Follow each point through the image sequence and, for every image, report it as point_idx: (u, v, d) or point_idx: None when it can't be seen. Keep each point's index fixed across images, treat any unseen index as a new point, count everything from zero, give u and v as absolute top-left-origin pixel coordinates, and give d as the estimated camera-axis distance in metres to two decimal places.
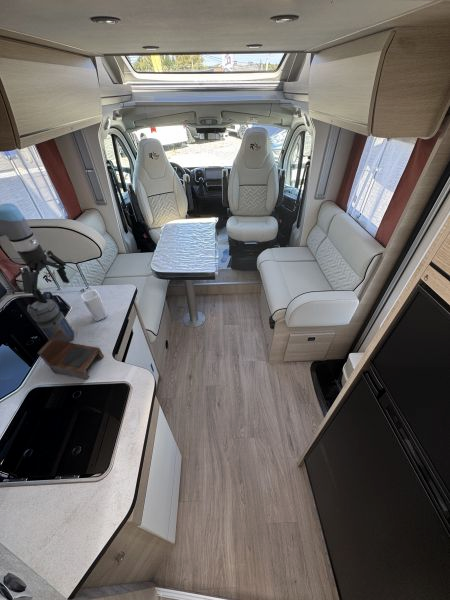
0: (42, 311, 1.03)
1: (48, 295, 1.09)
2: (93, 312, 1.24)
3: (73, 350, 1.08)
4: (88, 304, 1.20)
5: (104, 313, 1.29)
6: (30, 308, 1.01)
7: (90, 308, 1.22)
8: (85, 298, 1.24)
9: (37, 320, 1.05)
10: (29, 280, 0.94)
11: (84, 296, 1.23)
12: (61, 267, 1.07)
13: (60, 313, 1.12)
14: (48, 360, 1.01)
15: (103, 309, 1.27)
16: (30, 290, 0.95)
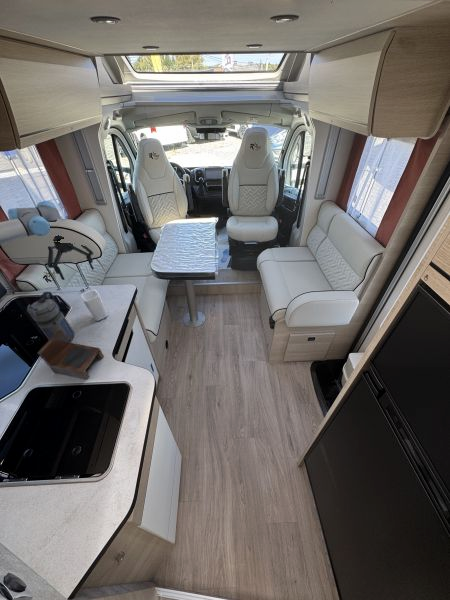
0: (42, 311, 1.03)
1: (48, 295, 1.09)
2: (93, 312, 1.24)
3: (73, 350, 1.08)
4: (88, 304, 1.20)
5: (104, 313, 1.29)
6: (30, 308, 1.01)
7: (90, 308, 1.22)
8: (85, 298, 1.24)
9: (37, 320, 1.05)
10: None
11: (84, 296, 1.23)
12: None
13: (60, 313, 1.12)
14: (48, 360, 1.01)
15: (103, 309, 1.27)
16: None
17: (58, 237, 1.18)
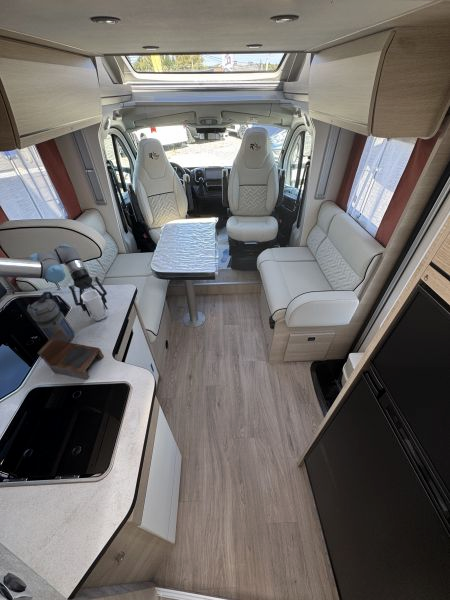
0: (42, 311, 1.03)
1: (48, 295, 1.09)
2: (93, 312, 1.24)
3: (73, 350, 1.08)
4: (88, 304, 1.20)
5: (104, 313, 1.29)
6: (30, 308, 1.01)
7: (90, 308, 1.22)
8: (85, 298, 1.24)
9: (37, 320, 1.05)
10: None
11: (84, 296, 1.23)
12: None
13: (60, 313, 1.12)
14: (48, 360, 1.01)
15: (103, 309, 1.27)
16: None
17: (78, 275, 1.21)
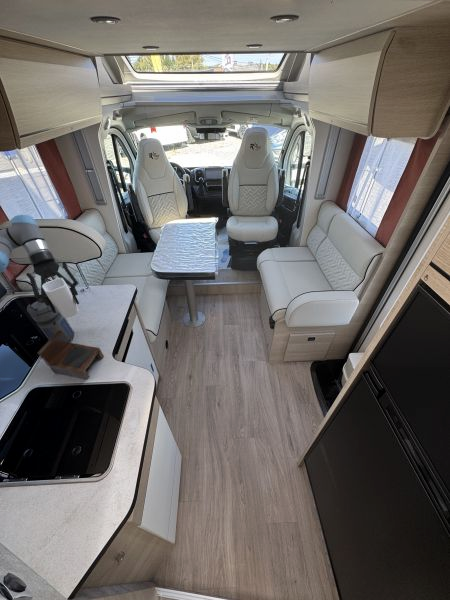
0: (42, 311, 1.03)
1: None
2: (59, 307, 0.96)
3: (73, 350, 1.08)
4: (51, 296, 0.92)
5: (75, 309, 1.01)
6: (30, 308, 1.01)
7: (54, 302, 0.94)
8: (49, 289, 0.97)
9: (37, 320, 1.05)
10: None
11: (47, 286, 0.96)
12: None
13: None
14: (48, 360, 1.01)
15: (73, 303, 0.99)
16: None
17: (39, 259, 0.94)
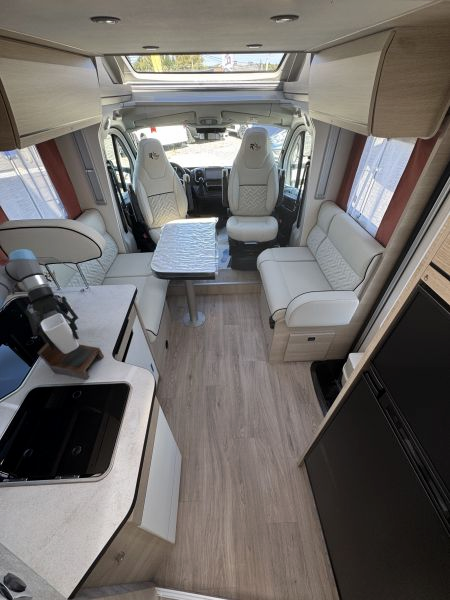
0: None
1: None
2: (58, 344, 0.94)
3: (73, 350, 1.08)
4: (50, 335, 0.90)
5: (74, 344, 0.98)
6: None
7: (53, 339, 0.92)
8: (48, 325, 0.94)
9: (37, 320, 1.05)
10: None
11: (46, 323, 0.93)
12: None
13: None
14: (48, 360, 1.01)
15: (72, 339, 0.97)
16: None
17: (37, 296, 0.91)
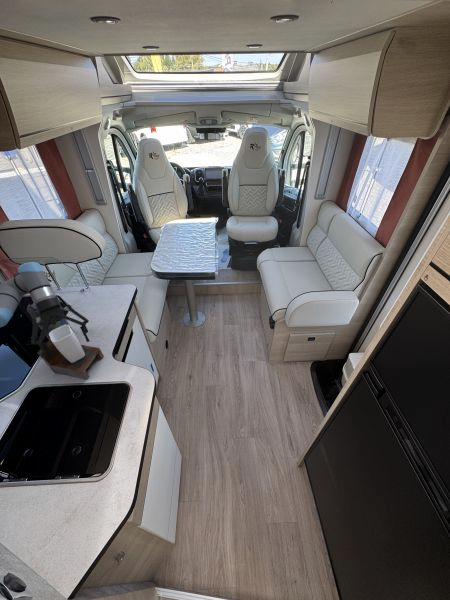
0: None
1: None
2: (65, 354, 0.98)
3: None
4: (58, 345, 0.94)
5: (81, 354, 1.02)
6: (30, 308, 1.01)
7: (61, 349, 0.95)
8: (55, 336, 0.98)
9: None
10: None
11: (54, 333, 0.97)
12: None
13: None
14: (48, 360, 1.01)
15: (79, 349, 1.00)
16: None
17: (45, 307, 0.95)
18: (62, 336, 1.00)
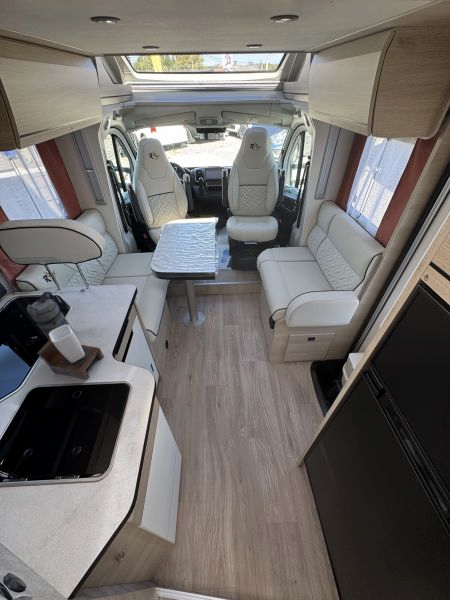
0: (42, 311, 1.03)
1: (48, 295, 1.09)
2: (65, 354, 0.98)
3: None
4: (58, 345, 0.94)
5: (81, 354, 1.02)
6: (30, 308, 1.01)
7: (61, 349, 0.95)
8: (55, 336, 0.98)
9: (37, 320, 1.05)
10: None
11: (54, 333, 0.97)
12: None
13: (60, 313, 1.12)
14: (48, 360, 1.01)
15: (79, 349, 1.00)
16: None
17: None
18: (62, 336, 1.00)
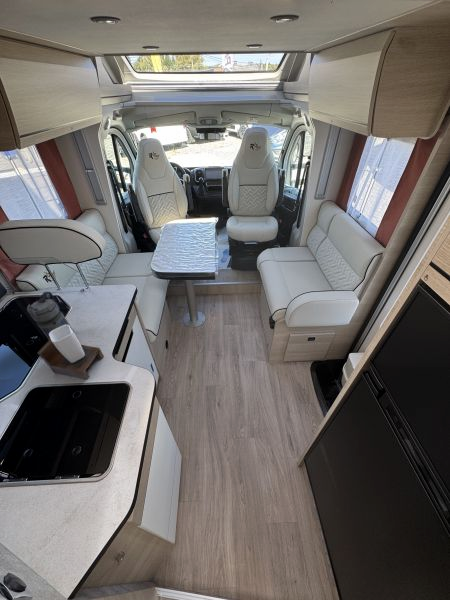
0: (42, 311, 1.03)
1: (48, 295, 1.09)
2: (65, 354, 0.98)
3: None
4: (58, 345, 0.94)
5: (81, 354, 1.02)
6: (30, 308, 1.01)
7: (61, 349, 0.95)
8: (55, 336, 0.98)
9: (37, 320, 1.05)
10: None
11: (54, 333, 0.97)
12: None
13: (60, 313, 1.12)
14: (48, 360, 1.01)
15: (79, 349, 1.00)
16: None
17: None
18: (62, 336, 1.00)
